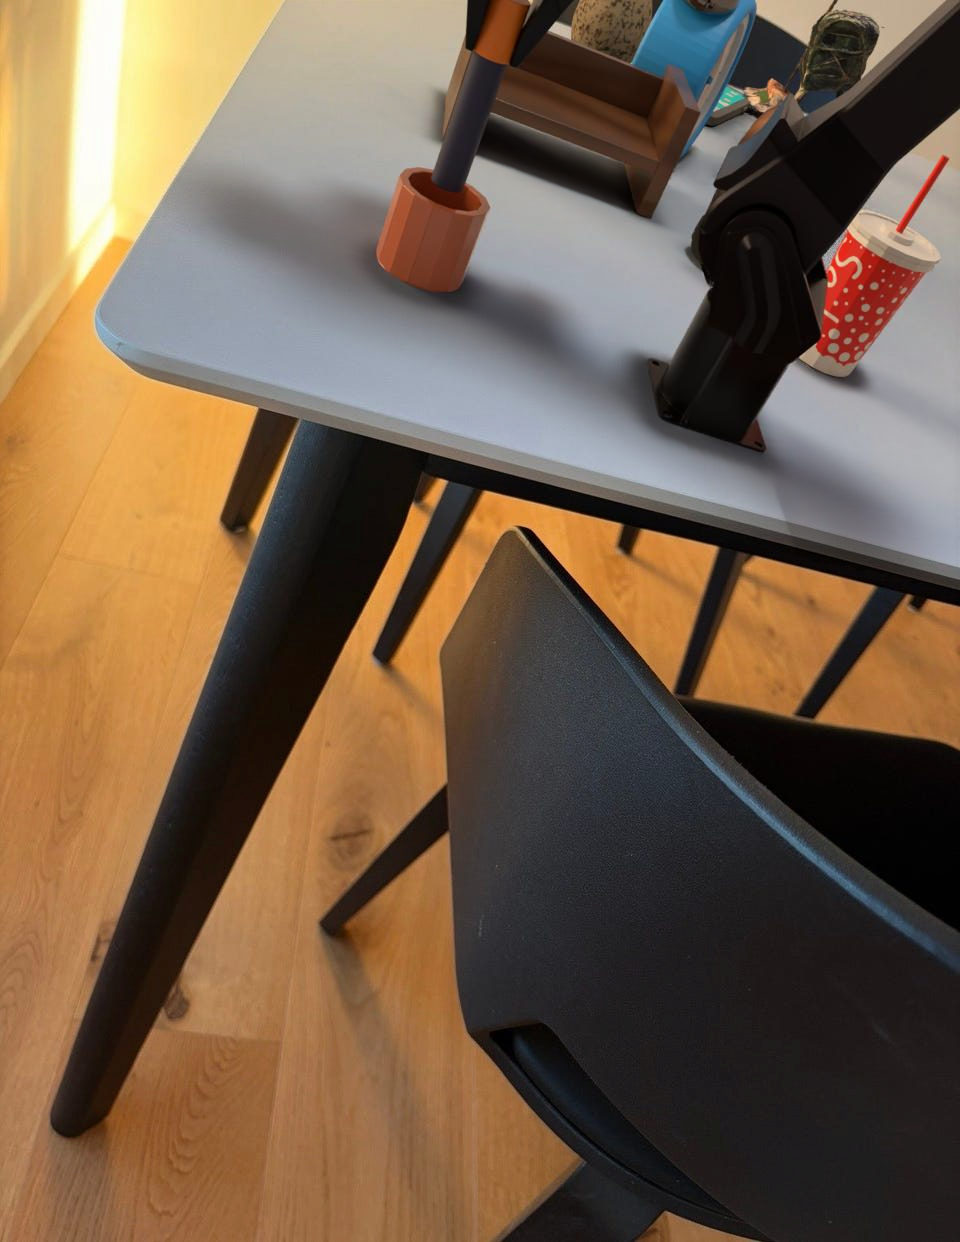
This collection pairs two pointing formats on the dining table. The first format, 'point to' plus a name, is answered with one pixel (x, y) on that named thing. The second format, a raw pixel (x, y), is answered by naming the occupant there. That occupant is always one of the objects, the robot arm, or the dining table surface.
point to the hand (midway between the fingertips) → (490, 56)
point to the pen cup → (430, 232)
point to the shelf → (597, 108)
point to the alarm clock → (698, 47)
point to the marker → (479, 91)
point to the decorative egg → (612, 26)
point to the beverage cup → (870, 283)
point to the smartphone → (728, 106)
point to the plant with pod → (826, 58)
